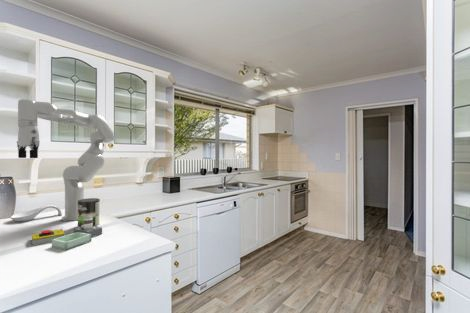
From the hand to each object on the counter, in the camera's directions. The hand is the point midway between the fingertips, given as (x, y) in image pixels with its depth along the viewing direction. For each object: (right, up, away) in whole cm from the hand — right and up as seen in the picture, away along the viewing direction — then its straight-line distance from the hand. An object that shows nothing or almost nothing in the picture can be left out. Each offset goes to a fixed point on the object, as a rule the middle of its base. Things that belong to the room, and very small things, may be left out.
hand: (27, 157), depth 123 cm
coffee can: (+26, -37, +8) cm, 46 cm away
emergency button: (+21, -38, -13) cm, 45 cm away
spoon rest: (-13, -37, +22) cm, 45 cm away
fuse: (+35, -37, -7) cm, 51 cm away
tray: (+35, -37, -19) cm, 54 cm away
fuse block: (+35, -37, -7) cm, 51 cm away
